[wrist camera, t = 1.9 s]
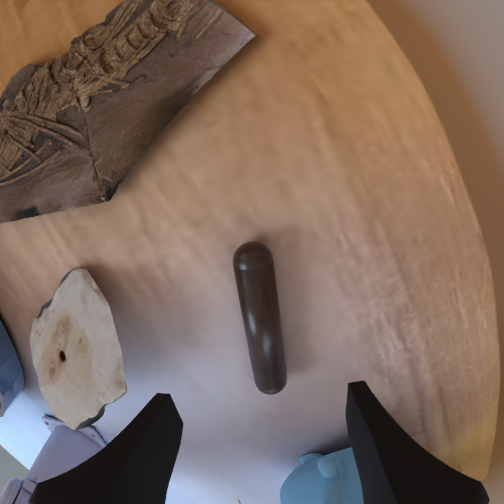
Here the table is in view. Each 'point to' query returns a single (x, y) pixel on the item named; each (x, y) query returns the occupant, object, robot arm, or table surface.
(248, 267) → the stick
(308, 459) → the teapot
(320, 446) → the table surface
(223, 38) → the brown flat piece
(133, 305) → the table surface
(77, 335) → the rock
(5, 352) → the bowl
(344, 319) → the table surface
